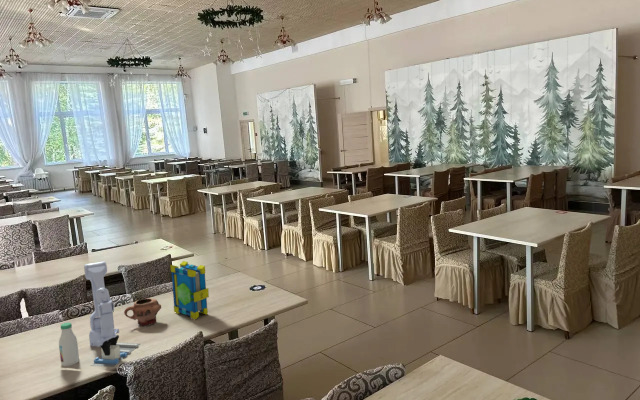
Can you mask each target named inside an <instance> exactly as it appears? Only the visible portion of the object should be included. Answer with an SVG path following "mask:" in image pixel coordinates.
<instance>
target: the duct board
mask: <svg viewBox="0 0 640 400" xmlns="http://www.w3.org/2000/svg"><path fill="white" fill-rule="evenodd" d="M116 345H119V347H120V358H119V359H118V358H116V359H115V360H110V359H102V356H97V357H95V358H94V359H93V363H92V364H90V366H94V367H107V368H108V367H111V368H113V367H116V366H117V365H118V364H119V363H121V361H123V359H125V358H126V357H127V356H128V355H130V354H131V353H132V352H133V351H135V349H137V348H138V347H139V346H140V345H141V343H132V342H131V343H129V342H117V344H116Z"/></svg>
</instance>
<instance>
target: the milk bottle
mask: <svg viewBox="0 0 640 400" xmlns="http://www.w3.org/2000/svg"><path fill="white" fill-rule="evenodd" d="M72 328H73V326H72V322H64V323H61V324H60V330H61V333H60V336H59V340H58V347H59V357H60V365H61V366H63V367H69V366H73V365H75V364H77V363H79V361H80V354H79V346H78V339H77V336H76V335H75V333H74V332H73V329H72Z"/></svg>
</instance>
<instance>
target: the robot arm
mask: <svg viewBox="0 0 640 400" xmlns="http://www.w3.org/2000/svg"><path fill="white" fill-rule="evenodd" d="M83 266H84V267H83V268H84V277H85V279H86V280H89V281H90V283H91V291H92V297H93V298H92V299H93V305H94V311H93V312H92V313H90V315H89V325H90V329H91V330H90V331H89V334H88V337H89V339H88V340H89V347H97V348H100V349H101V348H102V349H103V352H104V354H105V356H109V355H110V345H116V344H117V343H118V340H119V338H120V335H118V334H119V333H120V329H119V328H115V322H114V313H115V312H114V311H115V308H114V307H115V306H114V303H113V300H112V298H111V295H110V292H109V289H108V288H106V287H105V279H104V277H105V276H106V274H107V272H108V266H107V263H106V261H105V260H102V261H99V262H98V261H97V262H91V263H85V264H84V265H83Z"/></svg>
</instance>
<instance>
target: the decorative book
mask: <svg viewBox="0 0 640 400" xmlns="http://www.w3.org/2000/svg"><path fill="white" fill-rule="evenodd" d="M170 273H171V282H172V284H171V285H172V295H173V296H172V297H173V312H176V313H178V314H177V315H180V314H183V315H186V316H189V317H190V319H191V318H193V319H192V320H194V319H196V320H197V319H198V318H199V317H200V314H204V315H207V313H208V310H209V309H208V301H207V299H208V298H210V295H209V288H208V287H207V286H206V266H205V265H203V264H199V265H198V266H196V264H195V265H194V264H191V263H190V264H189V262H188V261H185V260H183V261H182V262H180V264H179V266H177V265H173V264H170ZM176 313H175V314H176ZM208 314H209V313H208Z"/></svg>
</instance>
